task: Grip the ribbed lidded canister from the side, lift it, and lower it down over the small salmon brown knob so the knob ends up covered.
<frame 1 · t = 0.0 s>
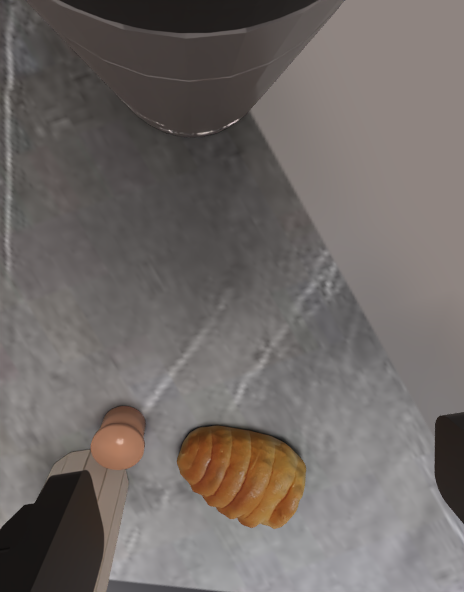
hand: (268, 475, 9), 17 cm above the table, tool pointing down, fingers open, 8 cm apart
salmon brown knob: (124, 424, 28), on the table
ribbed lidded canister: (89, 481, 29), on the table
pastry: (242, 461, 30), on the table
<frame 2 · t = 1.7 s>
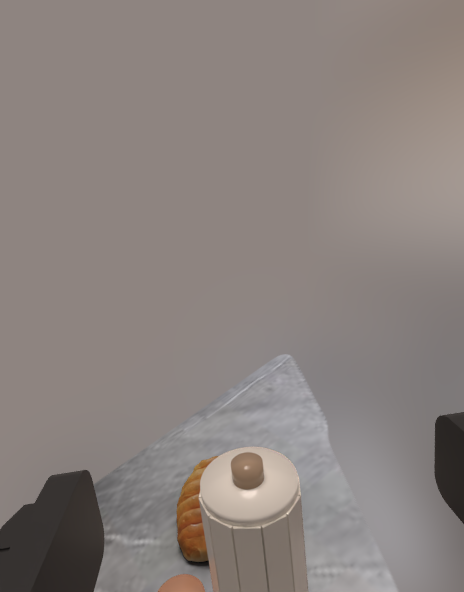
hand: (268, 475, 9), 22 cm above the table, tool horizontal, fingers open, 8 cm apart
pastry: (217, 516, 36), on the table
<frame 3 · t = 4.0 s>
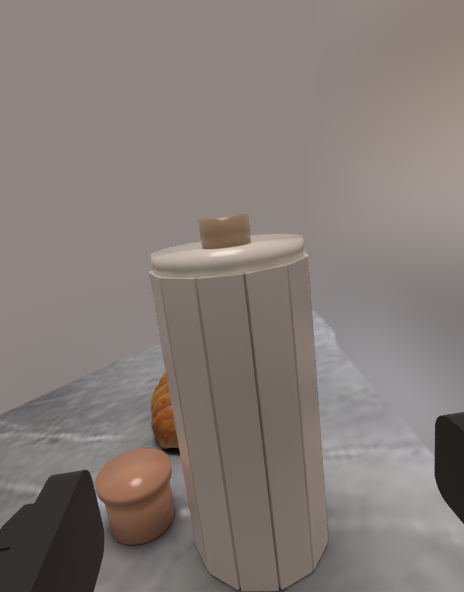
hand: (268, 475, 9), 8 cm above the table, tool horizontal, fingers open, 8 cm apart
salmon brown knob: (143, 517, 18), on the table
ribbed lidded canister: (260, 528, 17), on the table
pastry: (205, 412, 28), on the table
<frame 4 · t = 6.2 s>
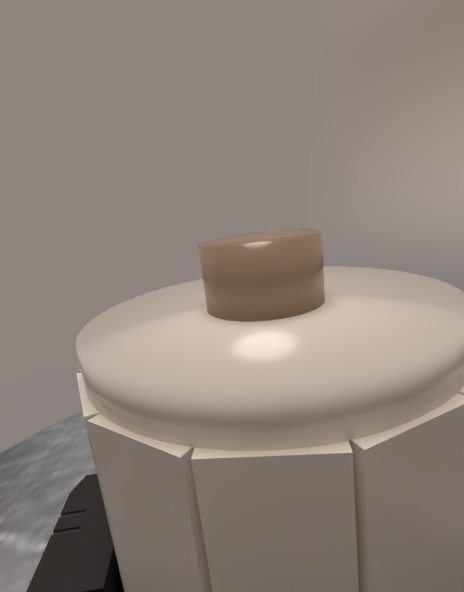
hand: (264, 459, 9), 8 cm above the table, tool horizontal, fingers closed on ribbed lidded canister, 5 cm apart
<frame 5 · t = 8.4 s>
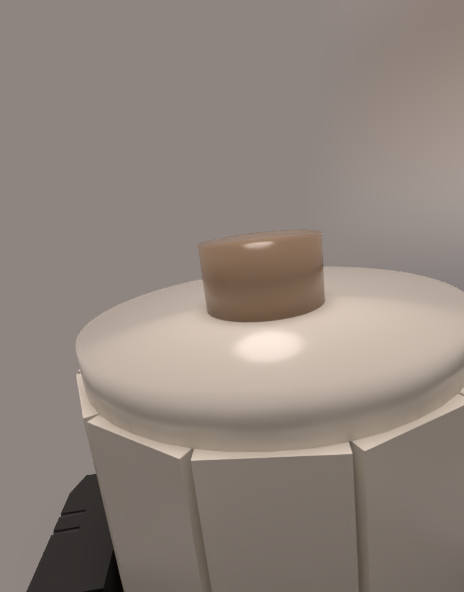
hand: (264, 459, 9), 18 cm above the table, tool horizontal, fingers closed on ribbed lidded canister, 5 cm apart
when the fingers open (9 cm above the table, at t = 10.8 s): ribbed lidded canister drops 1 cm, on the table.
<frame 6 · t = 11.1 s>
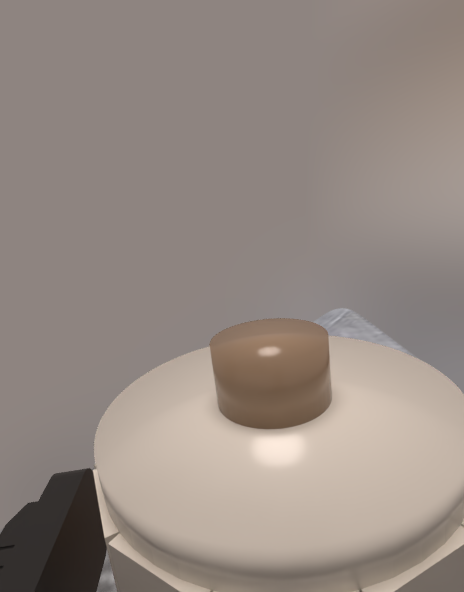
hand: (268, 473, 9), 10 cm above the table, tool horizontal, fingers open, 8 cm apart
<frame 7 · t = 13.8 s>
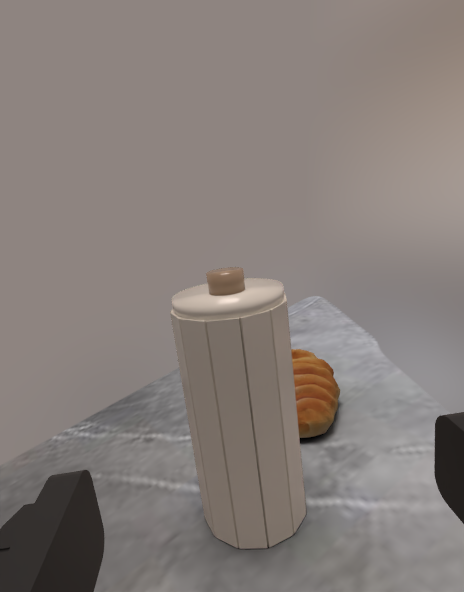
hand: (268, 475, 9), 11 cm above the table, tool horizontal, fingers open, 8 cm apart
ribbed lidded canister: (255, 504, 22), on the table
pastry: (301, 408, 32), on the table
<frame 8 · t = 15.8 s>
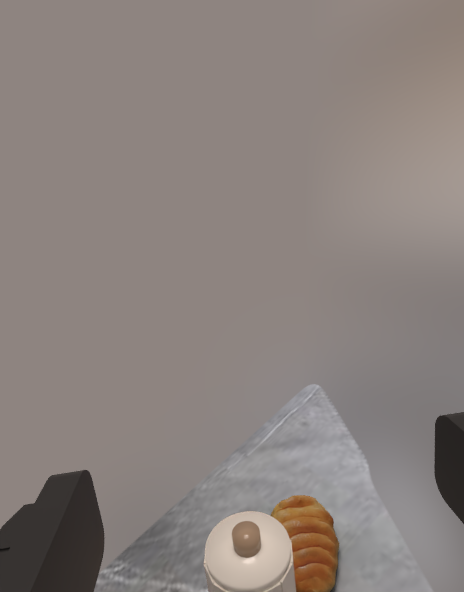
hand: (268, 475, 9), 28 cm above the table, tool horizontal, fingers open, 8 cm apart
pastry: (306, 554, 38), on the table
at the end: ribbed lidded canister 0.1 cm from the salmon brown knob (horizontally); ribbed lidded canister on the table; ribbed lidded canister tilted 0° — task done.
